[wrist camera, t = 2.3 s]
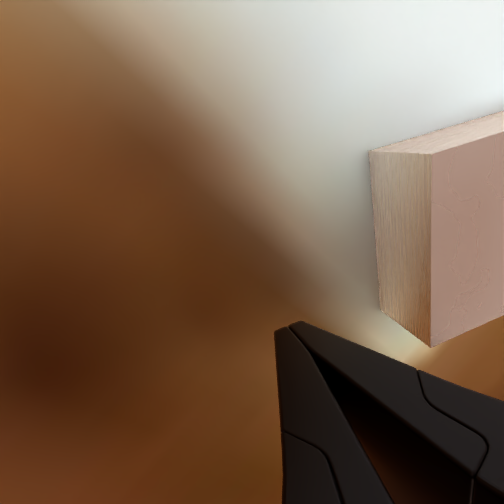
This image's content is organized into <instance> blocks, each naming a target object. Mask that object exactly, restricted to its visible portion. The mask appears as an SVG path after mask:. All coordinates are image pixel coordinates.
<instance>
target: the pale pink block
mask: <svg viewBox="0 0 504 504" xmlns="http://www.w3.org/2000/svg"><path fill="white" fill-rule="evenodd" d="M369 163H370V177H371V190H372V203H373V217H374V230H375V244H376V257H377V271H378V284H379V298H380V310H381V311H383V312H384V313H385V314H387V315H388V316H389V317H391V318H392V319H393V320H395V321H396V322H397V323H398V324H400V325H401V326H402V327H404V328H405V329H406V330H408V331H409V332H410V333H412V334H413V335H414V336H416V337H417V338H418V339H420V340H421V341H422V342H424V343H425V344H426V345H428V346H429V347H430V348H431V347H434V346H436V345H438V344H440V343H442V342H445V341H447V340H449V339H451V338H454V337H456V336H458V335H460V334H463V333H465V332H467V331H469V330H472V329H474V328H476V327H478V326H480V325H483V324H485V323H487V322H489V321H492V320H494V319H496V318H498V317H501V316H503V315H504V111H501V112H497V113H494V114H491V115H487V116H484V117H481V118H477V119H474V120H471V121H467V122H464V123H460V124H457V125H454V126H450V127H447V128H444V129H440V130H437V131H434V132H430V133H427V134H424V135H420V136H417V137H414V138H410V139H407V140H404V141H400V142H397V143H394V144H390V145H387V146H384V147H380V148H377V149H373V150H370V151H369Z"/></svg>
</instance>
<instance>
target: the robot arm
mask: <svg viewBox="0 0 504 504" xmlns="http://www.w3.org/2000/svg"><path fill="white" fill-rule="evenodd" d="M274 341H275V356H276V370H277V384H278V398H279V413H280V427H281V444H282V466H283V485H282V504H504V401H502V400H499V399H496V398H493V397H490V396H487V395H484V394H481V393H478V392H476V391H473V390H470V389H467V388H464V387H461V386H459V385H456V384H454V383H451V382H449V381H446V380H443V379H441V378H438V377H436V376H433V375H431V374H429V373H426V372H424V371H421V370H416V368H414V367H412V366H409V365H407V364H404V363H402V362H400V361H397V360H395V359H392V358H390V357H388V356H385V355H383V354H380V353H378V352H376V351H373V350H371V349H368V348H366V347H364V346H361V345H359V344H356V343H354V342H352V341H349V340H347V339H344V338H342V337H340V336H337V335H335V334H332V333H330V332H328V331H325V330H323V329H320V328H318V327H316V326H313V325H311V324H309V323H306V322H304V321H298V322H295V323H293V324H290V325H289V326H288V327H283V328H280V329H278V330H275V331H274Z"/></svg>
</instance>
